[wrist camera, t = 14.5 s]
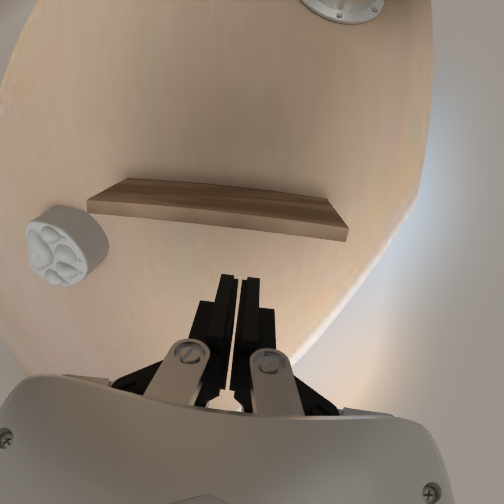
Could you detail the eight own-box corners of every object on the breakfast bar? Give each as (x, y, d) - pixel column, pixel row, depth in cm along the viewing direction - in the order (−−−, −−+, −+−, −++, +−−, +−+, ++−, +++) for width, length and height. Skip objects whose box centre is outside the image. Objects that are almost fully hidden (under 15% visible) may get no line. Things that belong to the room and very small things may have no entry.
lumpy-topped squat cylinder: (49, 201, 39) (17, 219, 31) (110, 217, 40) (80, 240, 32) (51, 254, 43) (24, 278, 36) (108, 274, 44) (84, 302, 37)
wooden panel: (127, 178, 37) (86, 200, 27) (326, 199, 38) (348, 228, 28) (127, 190, 38) (87, 215, 28) (324, 211, 38) (344, 244, 29)
